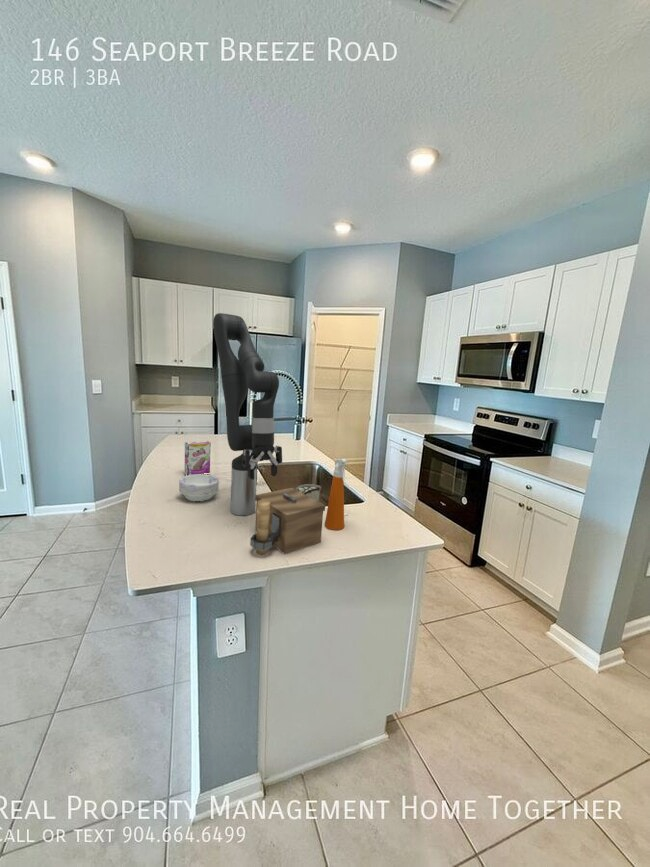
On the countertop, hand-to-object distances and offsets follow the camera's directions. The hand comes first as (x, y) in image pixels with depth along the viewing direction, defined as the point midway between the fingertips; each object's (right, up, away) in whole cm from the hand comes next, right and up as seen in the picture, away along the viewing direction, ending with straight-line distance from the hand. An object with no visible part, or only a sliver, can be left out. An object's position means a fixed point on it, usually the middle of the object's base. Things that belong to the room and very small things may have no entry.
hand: (262, 477), depth 122 cm
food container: (+13, -16, +17) cm, 26 cm away
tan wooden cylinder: (+2, -21, -15) cm, 26 cm away
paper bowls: (-30, -11, +23) cm, 40 cm away
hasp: (+3, -18, -15) cm, 24 cm away
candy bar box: (-41, -5, +51) cm, 66 cm away
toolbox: (+9, -19, -4) cm, 22 cm away
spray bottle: (+25, -19, +4) cm, 32 cm away
